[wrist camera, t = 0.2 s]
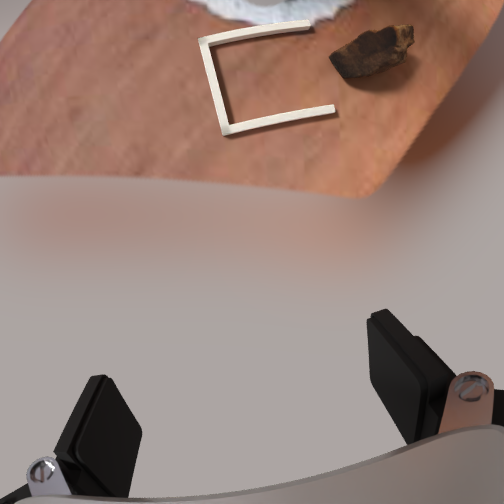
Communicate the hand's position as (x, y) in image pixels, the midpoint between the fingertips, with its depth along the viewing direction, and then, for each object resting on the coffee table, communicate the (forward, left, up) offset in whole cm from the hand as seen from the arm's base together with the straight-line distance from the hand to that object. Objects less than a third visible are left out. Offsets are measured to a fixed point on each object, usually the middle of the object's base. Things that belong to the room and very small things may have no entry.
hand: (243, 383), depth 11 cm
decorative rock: (-17, +22, -32) cm, 42 cm away
